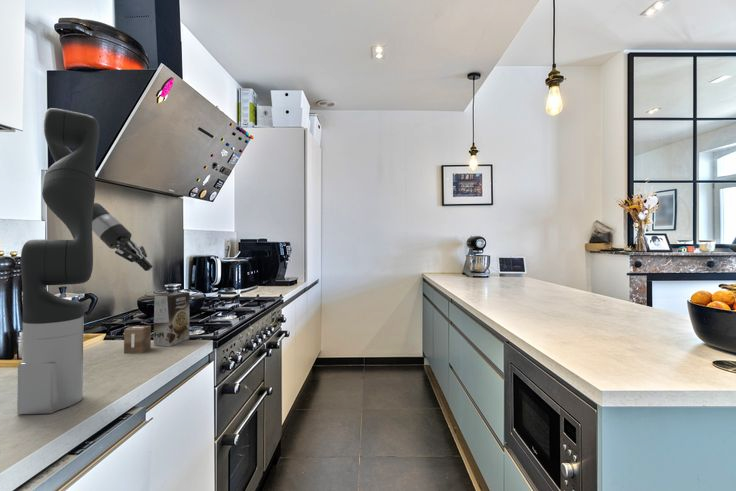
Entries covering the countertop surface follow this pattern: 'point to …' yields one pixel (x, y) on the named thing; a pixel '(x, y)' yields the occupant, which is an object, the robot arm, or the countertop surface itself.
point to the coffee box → (171, 318)
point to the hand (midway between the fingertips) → (149, 269)
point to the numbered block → (137, 339)
